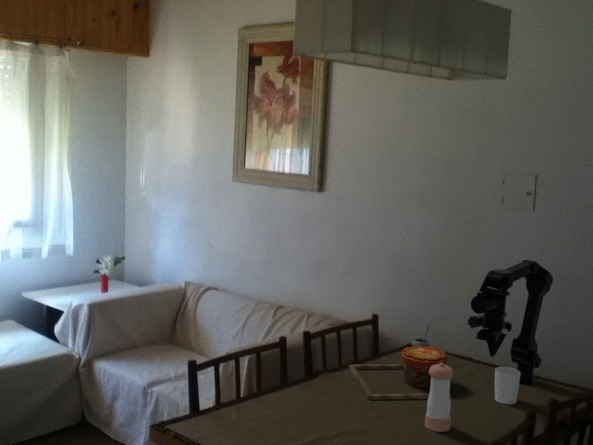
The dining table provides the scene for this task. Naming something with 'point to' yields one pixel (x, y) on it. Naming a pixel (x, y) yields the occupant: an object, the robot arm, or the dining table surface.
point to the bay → (382, 396)
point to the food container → (421, 364)
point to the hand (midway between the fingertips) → (492, 355)
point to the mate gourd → (421, 340)
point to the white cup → (506, 385)
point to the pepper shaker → (439, 399)
